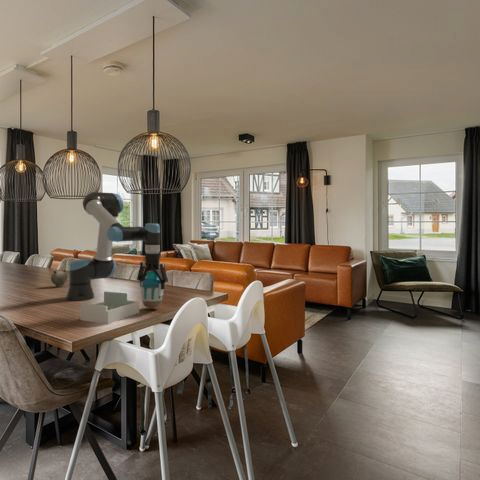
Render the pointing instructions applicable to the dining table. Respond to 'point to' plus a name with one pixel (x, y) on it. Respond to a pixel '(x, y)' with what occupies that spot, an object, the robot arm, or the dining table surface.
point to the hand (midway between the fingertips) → (152, 294)
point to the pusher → (114, 299)
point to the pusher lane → (107, 312)
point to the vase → (151, 290)
